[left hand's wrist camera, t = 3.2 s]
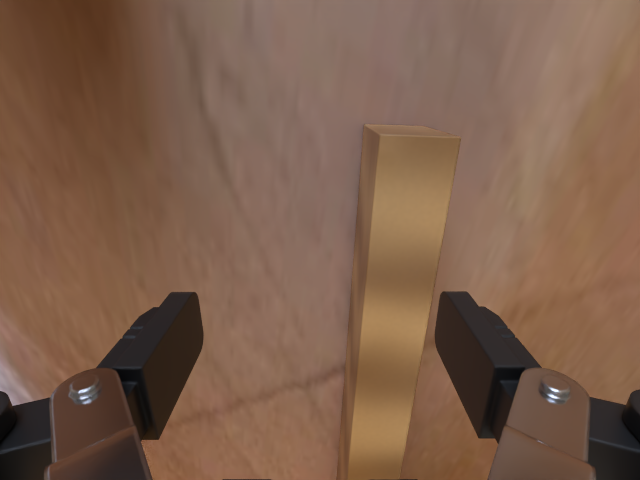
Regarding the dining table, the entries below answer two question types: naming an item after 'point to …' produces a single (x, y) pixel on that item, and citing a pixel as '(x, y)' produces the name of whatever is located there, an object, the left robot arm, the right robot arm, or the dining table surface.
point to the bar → (391, 290)
